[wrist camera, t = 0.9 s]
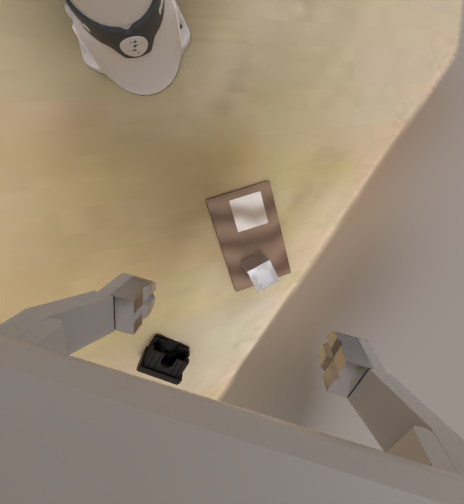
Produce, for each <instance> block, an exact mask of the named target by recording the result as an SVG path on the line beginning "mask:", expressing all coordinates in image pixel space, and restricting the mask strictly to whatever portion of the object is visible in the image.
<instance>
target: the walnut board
mask: <svg viewBox="0 0 464 504" xmlns="http://www.w3.org/2000/svg"><path fill="white" fill-rule="evenodd" d="M206 202H207V205H208V208H209V211H210V214H211V217H212V220H213V224H214V227H215V230H216V233H217V236H218V239H219V242H220V245H221V248H222V251H223V254H224V257H225V260H226V264H227V267H228V270H229V273H230V276H231V279H232V282H233V285H234V288H235V291H236V292H237V291H240V290H243V289H246V288H249V287H251V286H254V285H253V284H252V282H251V280H250V279H249V277H248V275H247V273H246V271H245V269H244V267H243V265H242V264H241V262H240V261H241V260H243V259H245V258H246V257H248V256H250V255H252V254H254V253H256V252H258V251H260V252H262V253H263V254H264V255H265V256H266V257H267V258H268V259H269V260H270V261H271V263H272V266H273V268H274V270H275V272H276V274H277V276H278V277H280V276H283V275H286V274H289V273H291V271H290V267H289V263H288V258H287V254H286V250H285V245H284V241H283V237H282V233H281V228H280V224H279V220H278V215H277V211H276V207H275V203H274V198H273V194H272V190H271V186H270V181H265V182H262V183H259V184H256V185H253V186H250V187H246V188H243V189H240V190H237V191H234V192H230V193H227V194H224V195H221V196H218V197H215V198H211V199H208V200H206Z"/></svg>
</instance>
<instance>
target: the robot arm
mask: <svg viewBox="0 0 464 504" xmlns="http://www.w3.org/2000/svg"><path fill="white" fill-rule="evenodd" d="M64 1H65V3H66V4H64V7H65V10H66V13H67V15H68V17H69V18H72V21H73V25H72V28H73V30H74V32H75V34H76V35H77V37H78V41H79V45H80V49H81V53H82V57H83V60H84V62H85V63H86V65H87V66H88V67H89V68H91V69H93V70H95V71H97V72H100V73H103V74H105V75H106V76H108V77H109V78H110V79H111V80H112V81H113V82H114V83H116V84H117V85H118V86H120V87H121V88H123V89H124V90H126V91H129V92H131V93H134V94H139V95H151V94H155V93H158V92H160V91H162V90H164V89H165V88H166V87H167V86H169V85H170V83H171V82H172V81H173V79H174V78H175V76H176V74H177V72H178V69H179V65H180V60H181V56H182V53H183V52H184V51H185V49H186V48H187V46H188V45H189V43H190V40H191V36H190V31H189V29H188V26H187V24H186V22H185V20H184V18H183V15H182V13H181V11H180V9H179V7H178V4H177V2H176V0H64ZM180 26H181V27H182V29H180ZM155 289H156V283H155V282H154V281H150V280H147V279H144V278H140V277H137V276H133V275H130V274H126V273H122V274H120V275H119V276H118V277H116V278H115V279H114V280H112V281H111V282H110V283H108V284H107V285H106V286H105V287H103V288H102V289H101V290H99V291H98V292H97V291H92V292H88V293H84V294H81V295H77V296H73V297H69V298H65V299H62V300H58V301H54V302H50V303H47V304H43V305H39V306H35V307H31V308H28V309H25V310H23V311H22V312H20V313H18V314H17V315H15V316H14V317H12V318H10V319H9V320H7V321H6V322H4V323H2V324H1V325H0V504H464V441H463V439H462V438H461V437H460V436H459V435H458V434H457V433H455V432H454V431H453V430H452V429H451V428H450V427H449V426H448V425H446V424H445V423H444V422H443V421H442V420H441V419H440V418H439V417H438V416H437V415H435V414H434V413H433V412H432V411H431V410H430V409H429V408H428V407H427V406H425V405H424V404H423V403H422V402H421V401H420V400H419V399H418V398H416V396H414V395H413V394H412V393H411V392H410V391H409V390H408V389H407V388H405V387H404V386H403V385H402V384H401V383H400V382H399V381H398V380H397V379H396V378H394V377H393V376H392V375H390V374H387V372H386V371H385V368H384V366H383V365H382V363H381V361H380V359H379V357H378V356H377V354H376V352H375V350H374V348H373V346H372V345H371V343H370V342H369V341H368V340H366V339H362V338H358V337H353V336H349V335H346V334H342V333H338V332H334V331H331V332H330V333H329V334H328V336H327V339H328V342H327V343H325V344H323V346H322V347H321V349H320V354H319V361H320V366H321V367H322V369H323V370H324V371H325V373H324V375H323V378H324V382H325V386H326V390H327V392H330V393H333V394H337V395H340V396H343V397H346V398H348V401H349V402H350V403H351V405H352V406H353V408H354V409H355V410H356V412H357V413H358V415H359V416H360V417H361V419H362V420H363V422H364V423H365V425H366V426H367V427H368V429H369V430H370V432H371V433H372V435H373V436H374V437H375V439H376V440H377V442H378V443H379V445H380V446H381V448H382V449H383V450H384V451H381V450H378V449H375V448H371V447H368V446H364V445H361V444H358V443H355V442H352V441H348V440H345V439H342V438H338V437H335V436H332V435H328V434H325V433H322V432H319V431H315V430H312V429H309V428H305V427H302V426H298V425H295V424H292V423H289V422H286V421H282V420H279V419H276V418H273V417H269V416H266V415H263V414H259V413H256V412H253V411H250V410H246V409H243V408H240V407H237V406H233V405H230V404H227V403H224V402H220V401H217V400H214V399H210V398H207V397H204V396H201V395H197V394H194V393H191V392H187V391H184V390H181V389H178V388H174V387H171V386H168V385H165V384H161V383H158V382H155V381H151V380H148V379H145V378H142V377H138V376H135V375H132V374H128V373H125V372H122V371H119V370H115V369H112V368H109V367H105V366H102V365H99V364H96V363H92V362H89V361H86V360H82V359H79V358H76V357H73V356H69V355H70V354H72V353H74V352H76V351H77V350H79V349H81V348H83V347H85V346H87V345H89V344H91V343H93V342H94V341H96V340H98V339H100V338H102V337H104V336H106V335H108V334H110V333H111V332H113V331H114V330H117V331H121V332H125V333H129V334H133V335H134V334H135V332H136V331H137V330H138V328H139V327H140V326H141V325H142V319H143V318H146V317H148V315H149V314H150V313H151V311H152V308H153V306H154V302H155V296H154V295H153V292H154V291H155Z"/></svg>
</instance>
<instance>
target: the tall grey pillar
mask: <svg viewBox="0 0 464 504" xmlns="http://www.w3.org/2000/svg"><path fill="white" fill-rule="evenodd" d="M240 262H241V264H242V265H243V267H244V269H245V271H246V273H247V275H248V277H249V279H250V280H251V282H252V284H253V285H254V287H255V289H256V290H257V292H259V291H261V290H263V289H265V288H267V287H269V286H271V285H272V284H274V283H276V282H278V281H280V280H279V278H278V276H277V274H276V272H275V270H274V268H273V266H272V263H271V261H270V260H269V259H268V258H267V257H266V256H265V255H264V254H263V253H262V252H260V251H258V252H256V253H254V254H252V255H250V256H248V257H246V258H245V259H243V260H241V261H240Z"/></svg>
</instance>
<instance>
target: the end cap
mask: <svg viewBox="0 0 464 504" xmlns="http://www.w3.org/2000/svg"><path fill="white" fill-rule="evenodd" d="M189 355H190V354H189V347H188V346H187V345H184V344H182V343H179V342H177V341H174V340H172V339H169V338H167V337H165V336H162V335H160V334H156V335H155V337H154V338H153V340H152V342H151V343H150V345H149V347H146V349H145V351H144V353H143V354H142V357H141V359H140V361H139V363H138V366H137V371H139V372H142V373H145V374H147V375H150V376H153V377H156V378H159V379H162V380H164V381H167V382H170V383H173V384H176V385H178V384H179V383H180V382H181V381H182V373H183V371H184V370H185V368H186V366H187V365H188V363H189V359H188V357H189Z"/></svg>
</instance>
